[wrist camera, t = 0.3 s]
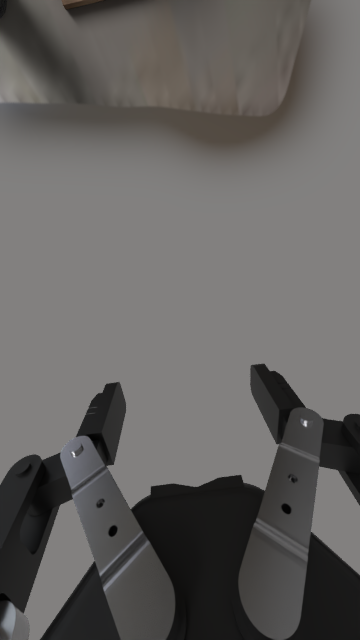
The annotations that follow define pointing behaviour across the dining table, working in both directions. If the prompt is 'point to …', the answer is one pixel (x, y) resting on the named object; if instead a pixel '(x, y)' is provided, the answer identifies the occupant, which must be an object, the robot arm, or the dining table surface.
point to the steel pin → (2, 7)
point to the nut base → (77, 3)
